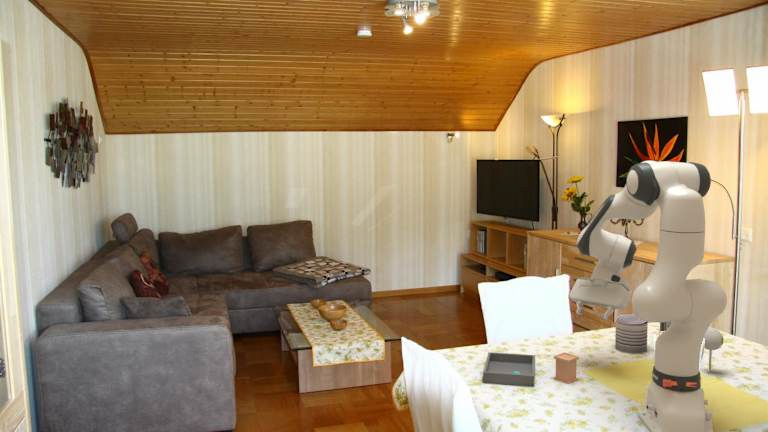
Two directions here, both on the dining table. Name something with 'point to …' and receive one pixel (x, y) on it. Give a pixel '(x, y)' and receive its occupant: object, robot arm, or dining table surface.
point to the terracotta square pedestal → (566, 367)
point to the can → (631, 334)
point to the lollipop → (712, 342)
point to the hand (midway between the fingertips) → (591, 316)
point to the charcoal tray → (509, 369)
